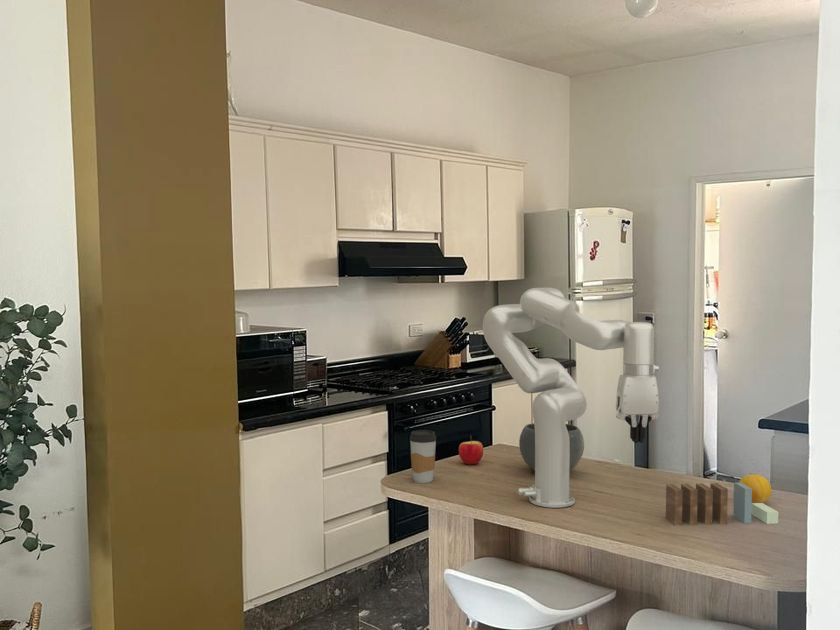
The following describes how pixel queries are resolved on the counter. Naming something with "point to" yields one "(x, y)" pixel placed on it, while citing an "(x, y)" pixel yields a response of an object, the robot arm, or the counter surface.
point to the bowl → (529, 445)
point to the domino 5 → (742, 502)
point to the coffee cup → (423, 455)
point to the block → (764, 513)
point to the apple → (471, 452)
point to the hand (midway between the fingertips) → (637, 441)
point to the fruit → (757, 487)
